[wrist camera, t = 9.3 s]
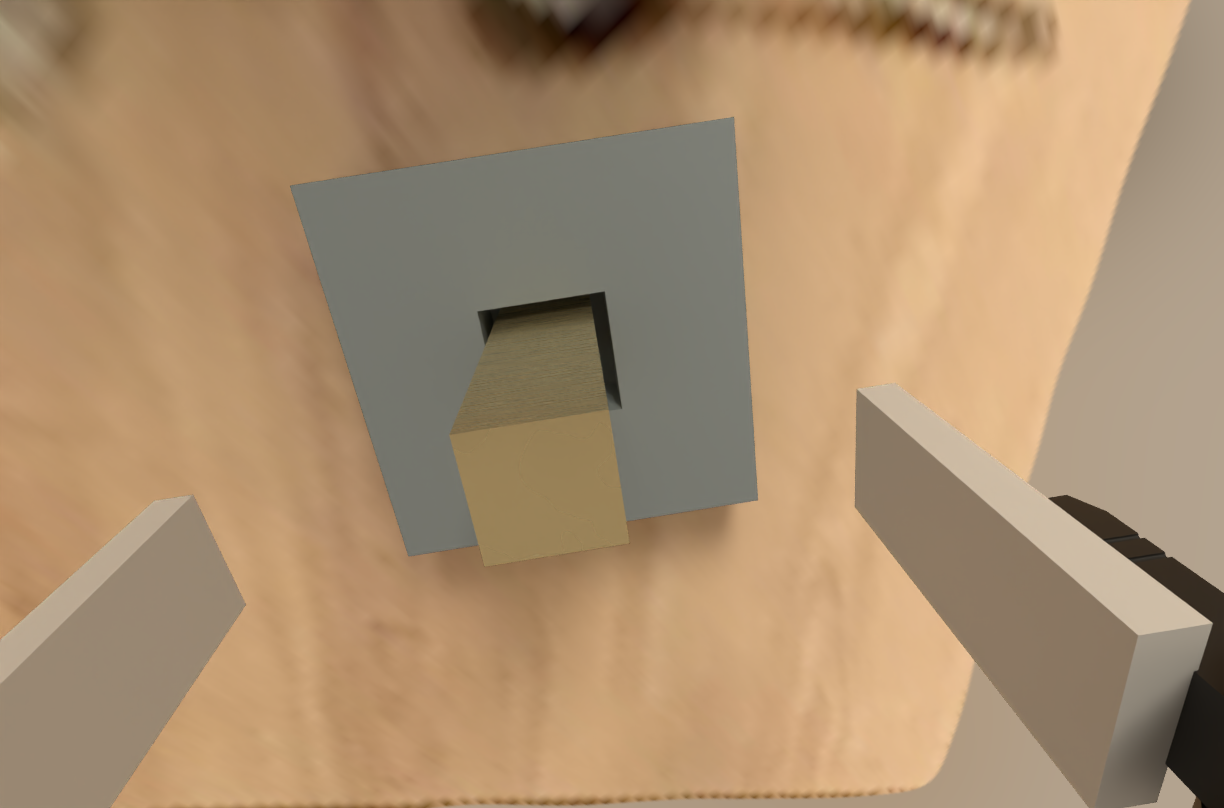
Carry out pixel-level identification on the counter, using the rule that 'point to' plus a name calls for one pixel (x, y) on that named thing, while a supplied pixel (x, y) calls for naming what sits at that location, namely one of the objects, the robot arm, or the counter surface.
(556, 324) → the pin
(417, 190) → the bore block
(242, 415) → the counter surface
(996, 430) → the counter surface
